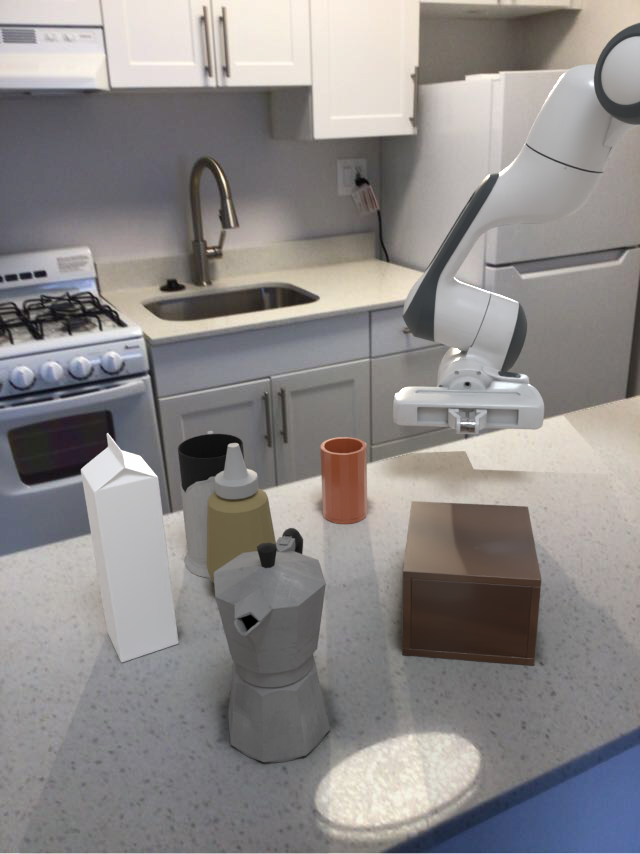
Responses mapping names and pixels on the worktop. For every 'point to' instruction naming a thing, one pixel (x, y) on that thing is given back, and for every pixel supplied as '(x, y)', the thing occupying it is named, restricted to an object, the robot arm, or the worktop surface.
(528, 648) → the cabinet
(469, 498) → the worktop surface
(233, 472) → the squeeze bottle
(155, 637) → the milk
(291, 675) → the coffeepot
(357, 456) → the cup
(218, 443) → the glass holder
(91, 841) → the worktop surface
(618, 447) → the worktop surface
